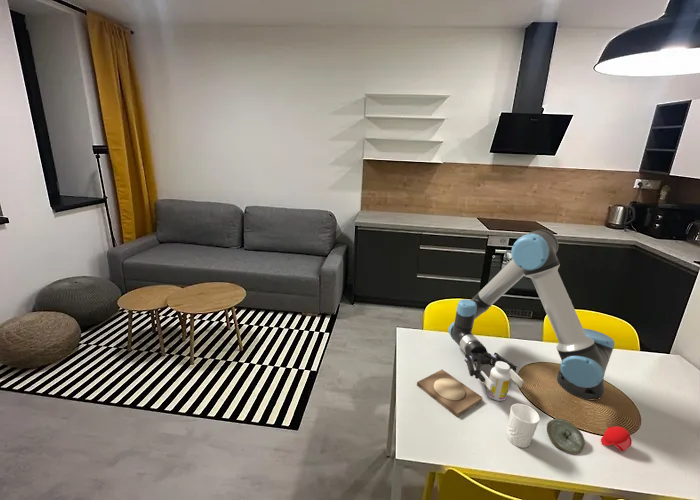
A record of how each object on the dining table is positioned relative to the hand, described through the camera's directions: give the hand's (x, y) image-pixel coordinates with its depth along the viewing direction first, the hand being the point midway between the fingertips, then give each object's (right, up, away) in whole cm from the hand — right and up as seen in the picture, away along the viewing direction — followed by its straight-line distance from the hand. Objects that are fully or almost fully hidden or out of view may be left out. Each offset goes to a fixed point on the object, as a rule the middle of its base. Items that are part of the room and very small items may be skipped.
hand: (506, 385), depth 120 cm
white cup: (-2, -12, -12) cm, 17 cm away
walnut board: (-18, -5, +5) cm, 20 cm away
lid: (+13, -13, -12) cm, 21 cm away
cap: (+28, -14, -12) cm, 33 cm away
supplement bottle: (-1, -6, +6) cm, 9 cm away
